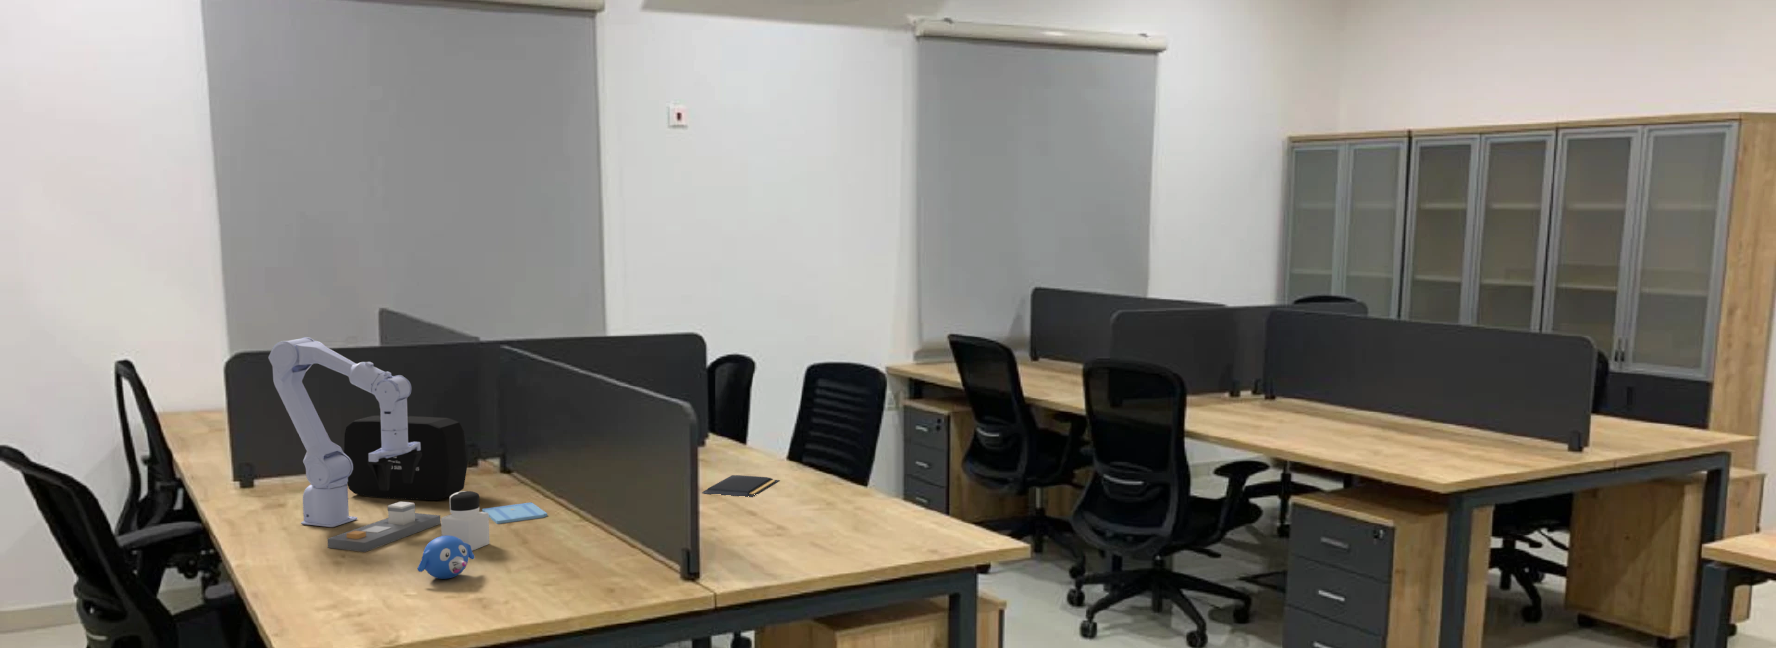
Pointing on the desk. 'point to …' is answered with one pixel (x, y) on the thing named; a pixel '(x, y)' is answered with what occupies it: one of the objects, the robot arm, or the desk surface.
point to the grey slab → (381, 533)
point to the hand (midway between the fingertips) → (396, 486)
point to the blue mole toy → (445, 557)
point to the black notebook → (741, 486)
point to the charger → (401, 513)
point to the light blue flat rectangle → (515, 513)
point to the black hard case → (434, 471)
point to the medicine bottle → (466, 520)
